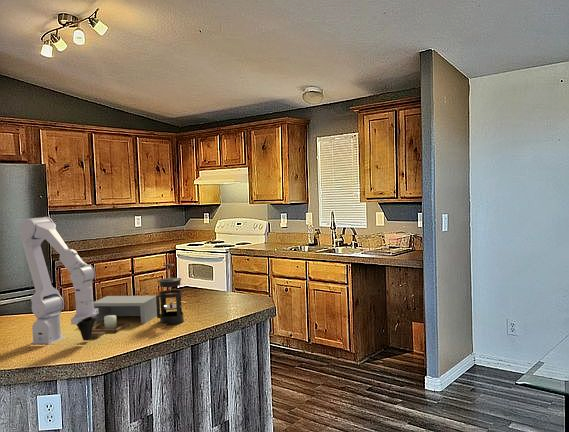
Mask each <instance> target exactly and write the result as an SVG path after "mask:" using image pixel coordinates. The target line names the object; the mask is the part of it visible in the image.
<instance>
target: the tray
mask: <svg viewBox="0 0 569 432" xmlns="http://www.w3.org/2000/svg"><path fill="white" fill-rule="evenodd" d="M129 325H130V324H129V323H128V322H117V328H115V329H105V324H104V322H101V323H100V324H99V323H98V324H97V325H94V326H93V329H92V333H91V338H90V339H89V340H91V339H94V340H96V339H97V340H98V339H99V338H101V337H102V336H104V335H106V334H117V333H119V332H121V331H122V330H124V329H126V328H127V327H129Z"/></svg>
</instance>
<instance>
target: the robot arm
mask: <svg viewBox="0 0 569 432" xmlns="http://www.w3.org/2000/svg"><path fill="white" fill-rule="evenodd" d="M56 227H57V224H56V223H55V222H54V220H53V219H52V218H51V217H49V216H43V217H33V218H25V219H23V220H22V221H21V223H20V225H19V227H18V229H19V232H20V236H21V241H22V242H21V243H22V247H23V251H24V253H25V258H26V262H27V265H28V268H29V269H28V270H29V272H30V275H31V279H32V282H33V286H34V291H35V292H34V293H33V295H32V296H31V298H30V301H31V312H32V314H33V315H34V316H35V318H36V320H35V321H34V322H33V324H32V327H31V328H32V329H31V330H32V342H31V344H53V343H55V342H57V341H59V340H61V339H63V338H65V337H66V336H67V335H63V334H62V328H61V315H60V314H62V311H63V309H64V307H65V301H64V298H63V297H62V295H61V294H60V291H59V290H58V289H57V288H56V287H53V285H52V282H51V281H52V280H51V278H50V274H49V271H48V266H47V265H46V261H45V257H44V253H43V249H42V247H41V245H42V243H43V241H45V240H46V241H47V242H48V243H49V244H50V246H51V247H52V248H53V249H54V250H55V251H56V252H57V253H58V254H59V257H58V259H59V261H60V263H62V265H63V266H64V268H65V269H66V270H67V271H68V273H70V275H69V279H70V281H71V284H72V287H73V289H74V298H75V299H74V300H75V315H73V317H72V318H70V325H76V326H77V328H78V329H79V332H80V335H81V337H82V340H83V341H90V340H91V339H90V338H91V333H92V329H93V327H94V326H95V324H94V323H95V321H96V318H95V317H92V316H95V315H97V314H99V310H98V308H94V306H93V302H94V295H93V294H94V293H93V292H94V290H93V280H94V279H95V277H96V270H95V268H94V267H93V265H91V264H87V263H86V262H85V261H84V260H83V259H82V257H80V255H79V254H78V252H77V250H75V249H73V248H69V246H68V245H67V244H66V243H65V241H64V239H63V238H62V237H61V235H60V234H59V232H58V231H57V228H56Z"/></svg>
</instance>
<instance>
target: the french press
mask: <svg viewBox="0 0 569 432" xmlns="http://www.w3.org/2000/svg"><path fill="white" fill-rule="evenodd" d="M174 266H175V264H174V263H165V264H163V267H167V270H168V275H169V276H168V277H166V278H161V279H157V282H158V283H159V287H160V288H169V289H167V290H162V291H159V292H158V294H157V295H155V296H156V306H157V316H156V318H157V319H160V320H159V321H160V324H164V325H165V326H175V325H180V324H182V323H184V322H185V319H184V312H183V311H182V310H183V309H182V306H183V304H182V295H183V291H182V290H181V289H172V288H174V287H179V286H181V281H182V278H180V277H171V267H174ZM172 298H175V303H173V301H172ZM167 299H170V302H169V303H167Z"/></svg>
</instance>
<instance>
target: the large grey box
mask: <svg viewBox="0 0 569 432" xmlns="http://www.w3.org/2000/svg"><path fill="white" fill-rule="evenodd" d="M93 306H94V308H98V310H99V314H97V315H95V316H92V317H95V318H96V321H95V323H94V325H96V324H99V323H100V322H102V321H104V316H107V315H116V317H130V316H131V317H140V324H141V325H142V324H143V325H145V324H147V323H149V322H150V321H151V320H154V318H157V306H156V295H106V296H104V297H102V298H99V299H98V300H97V299H96V300H94V301H93Z"/></svg>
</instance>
